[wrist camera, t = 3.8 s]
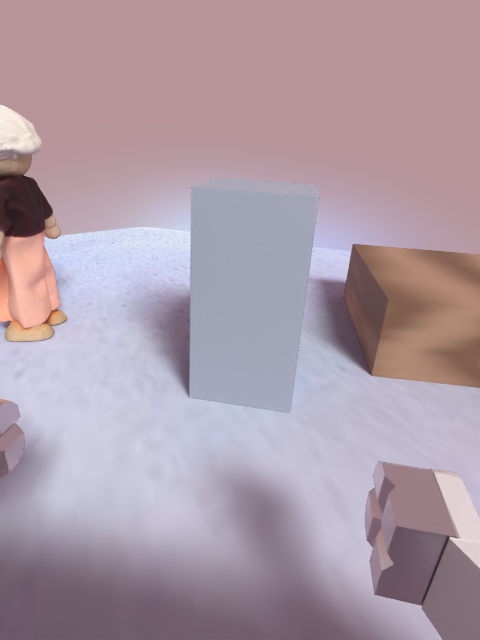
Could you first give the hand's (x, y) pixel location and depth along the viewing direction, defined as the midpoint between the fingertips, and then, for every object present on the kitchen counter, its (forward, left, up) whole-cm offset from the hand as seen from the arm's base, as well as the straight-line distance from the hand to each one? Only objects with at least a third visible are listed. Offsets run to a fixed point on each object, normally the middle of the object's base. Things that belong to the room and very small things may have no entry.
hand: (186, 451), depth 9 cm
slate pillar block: (0, +12, -5) cm, 13 cm away
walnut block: (+13, +21, -6) cm, 25 cm away
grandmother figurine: (-14, +14, -5) cm, 21 cm away
